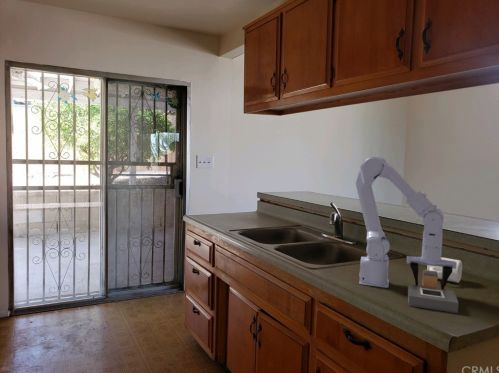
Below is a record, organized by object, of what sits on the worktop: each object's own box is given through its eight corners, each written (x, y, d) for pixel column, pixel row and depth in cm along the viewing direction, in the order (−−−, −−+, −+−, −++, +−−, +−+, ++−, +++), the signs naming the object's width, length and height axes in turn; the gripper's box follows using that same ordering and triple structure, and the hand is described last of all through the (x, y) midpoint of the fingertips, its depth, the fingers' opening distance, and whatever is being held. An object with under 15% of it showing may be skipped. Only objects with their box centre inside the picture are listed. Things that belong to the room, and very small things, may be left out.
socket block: (408, 305, 114) (409, 295, 113) (407, 293, 124) (408, 284, 123) (457, 313, 109) (458, 302, 109) (452, 300, 119) (453, 290, 119)
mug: (432, 274, 146) (433, 253, 146) (461, 280, 140) (462, 258, 139) (423, 281, 137) (424, 259, 136) (454, 288, 131) (455, 265, 130)
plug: (422, 294, 124) (423, 272, 123) (422, 290, 128) (423, 269, 127) (436, 295, 123) (437, 274, 122) (435, 291, 126) (436, 271, 126)
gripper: (408, 246, 123) (405, 287, 124) (458, 251, 118) (456, 294, 119) (407, 242, 129) (405, 281, 130) (455, 246, 124) (453, 287, 125)
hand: (429, 287), depth 125 cm, fingers open, 7 cm apart
